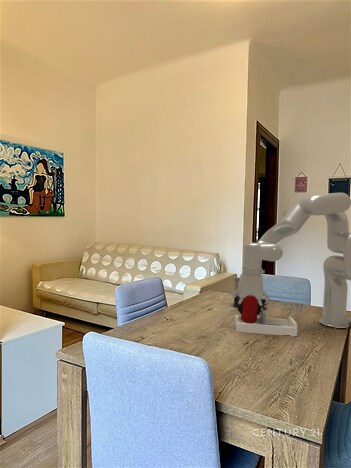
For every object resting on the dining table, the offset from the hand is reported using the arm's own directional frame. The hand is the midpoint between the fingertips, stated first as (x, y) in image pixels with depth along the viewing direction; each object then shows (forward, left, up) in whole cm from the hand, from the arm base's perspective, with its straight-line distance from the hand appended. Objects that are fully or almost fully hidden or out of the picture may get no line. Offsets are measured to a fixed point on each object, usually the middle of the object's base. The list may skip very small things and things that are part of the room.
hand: (249, 313), depth 137 cm
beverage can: (0, 0, -4) cm, 4 cm away
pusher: (-9, 0, -5) cm, 11 cm away
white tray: (-7, 0, -7) cm, 9 cm away
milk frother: (-4, -35, -7) cm, 36 cm away
